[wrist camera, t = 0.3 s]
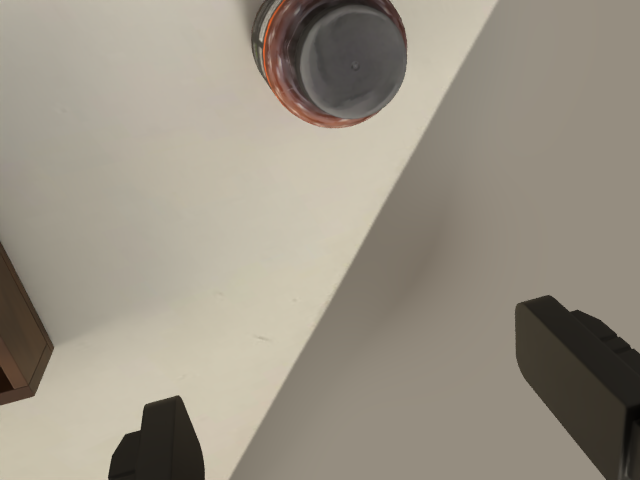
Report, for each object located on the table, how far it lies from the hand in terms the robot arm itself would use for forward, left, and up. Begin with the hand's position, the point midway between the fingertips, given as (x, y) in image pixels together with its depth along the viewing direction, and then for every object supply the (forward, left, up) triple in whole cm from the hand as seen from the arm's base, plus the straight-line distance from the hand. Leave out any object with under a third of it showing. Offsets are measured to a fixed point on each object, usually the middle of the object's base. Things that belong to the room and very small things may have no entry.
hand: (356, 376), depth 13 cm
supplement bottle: (-5, +3, -21) cm, 22 cm away
